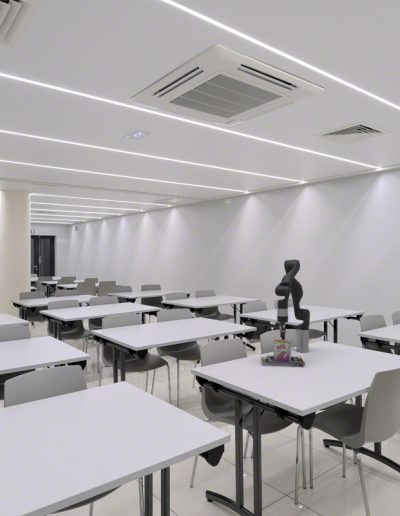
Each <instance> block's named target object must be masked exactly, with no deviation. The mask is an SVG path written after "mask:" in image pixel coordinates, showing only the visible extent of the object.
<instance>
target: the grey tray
mask: <svg viewBox="0 0 400 516" xmlns="http://www.w3.org/2000/svg"><path fill="white" fill-rule="evenodd" d="M273 359H274V355H266V356H263V357H260V361H261V365H262V367H263V366H267V367H270V366H271V367H289V368H290V367H292V368H293V367H294V368H299V366H303V365H304V366H305V361H304V360H303V358H302V356H300V355H296V356H292V355H291V361H273Z"/></svg>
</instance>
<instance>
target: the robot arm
mask: <svg viewBox="0 0 400 516" xmlns="http://www.w3.org/2000/svg"><path fill="white" fill-rule="evenodd" d="M283 267H284V271H285V274H284V275H283V277H282V279H281V281H280V282H279V283H278V284H277V286H276V287H275V289H274V294H275V295H276V296H277V297H284V298H282V299H278V300H277V311H276V318H277V319H276V322H278V323H279V326H278V327H279V333H280V334H279V335H280V336H279V337H280V338H281V339H282V340H285V339H286V331H287V327H286V326H287V325H286V323H288V322H289V300H290V296H291V299H292V300H291V301H292V305H293V312H294V313H293V314H294V317H295V319H296V320H297V321H302V323H299V324H297V325H296V352H299V353H309V352H308V351H309V349H310V348H309V346H310V344H309V343H310V342H309V341H310V323H311V322H310V320H311V312H310V310H309V309H308V308H301V306H300V303H301V301H302V299H303V296H304V290H303V286H302V284H301V283H300V282H299V281H298V279H296V277H297V274H298V273H299V271H300V269H301V264H300V260H299V259H286V260H285V261H284V263H283Z"/></svg>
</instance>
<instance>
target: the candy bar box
mask: <svg viewBox="0 0 400 516" xmlns="http://www.w3.org/2000/svg"><path fill="white" fill-rule="evenodd" d="M273 356H274V359H273V361H291V356H292V339H286V338H285V340H282V338H278V337H276V338H273Z"/></svg>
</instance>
